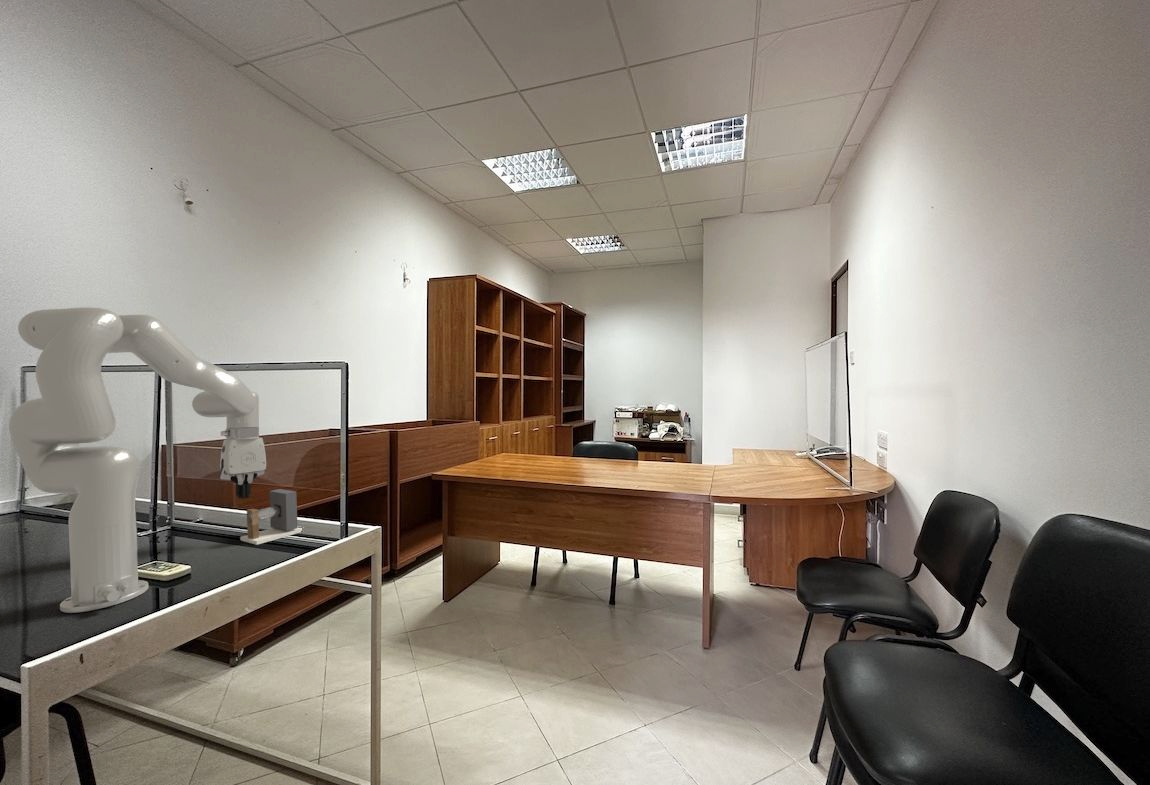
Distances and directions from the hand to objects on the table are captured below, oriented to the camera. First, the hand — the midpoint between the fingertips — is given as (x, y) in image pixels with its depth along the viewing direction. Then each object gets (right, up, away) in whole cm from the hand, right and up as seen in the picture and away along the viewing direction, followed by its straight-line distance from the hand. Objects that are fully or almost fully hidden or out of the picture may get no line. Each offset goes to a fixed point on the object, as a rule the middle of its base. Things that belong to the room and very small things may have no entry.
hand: (243, 497), depth 128 cm
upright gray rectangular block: (+8, -11, +6) cm, 14 cm away
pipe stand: (+6, -12, +3) cm, 14 cm away
